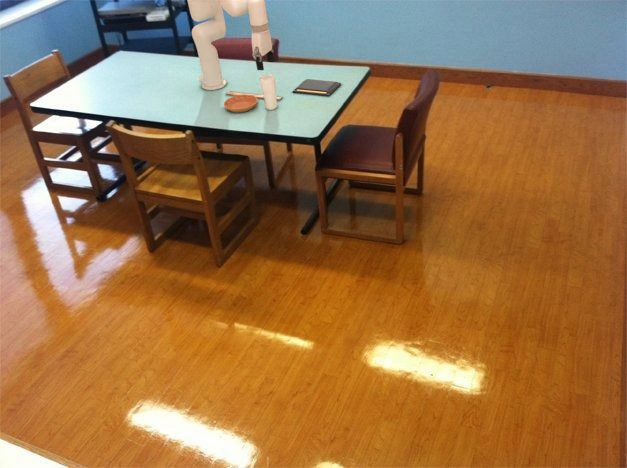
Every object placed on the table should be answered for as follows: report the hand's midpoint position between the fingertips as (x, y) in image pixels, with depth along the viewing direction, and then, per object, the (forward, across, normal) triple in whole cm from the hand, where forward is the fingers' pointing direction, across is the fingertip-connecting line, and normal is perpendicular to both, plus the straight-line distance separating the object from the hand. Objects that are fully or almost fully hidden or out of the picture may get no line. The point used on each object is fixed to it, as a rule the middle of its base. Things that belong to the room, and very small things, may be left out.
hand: (265, 65), depth 268 cm
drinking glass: (+21, 0, 0) cm, 21 cm away
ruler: (+20, -10, -16) cm, 27 cm away
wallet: (+21, -25, +12) cm, 35 cm away
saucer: (+20, +2, -15) cm, 26 cm away
